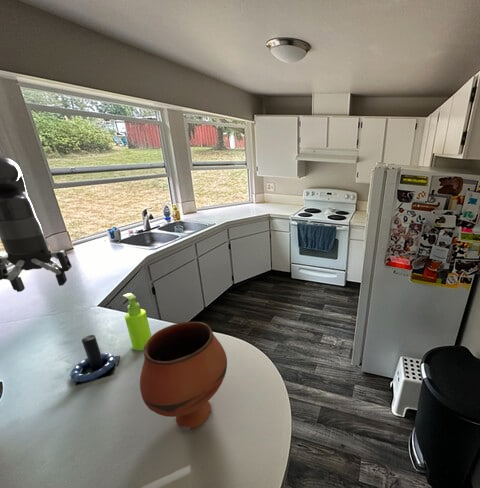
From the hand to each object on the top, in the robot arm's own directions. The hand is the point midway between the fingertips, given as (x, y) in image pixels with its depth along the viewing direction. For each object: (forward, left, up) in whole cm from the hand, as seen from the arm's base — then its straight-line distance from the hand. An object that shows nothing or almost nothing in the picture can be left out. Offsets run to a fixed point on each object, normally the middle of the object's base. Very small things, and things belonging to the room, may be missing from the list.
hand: (42, 287), depth 72 cm
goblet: (+35, -36, -28) cm, 58 cm away
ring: (+8, -7, -26) cm, 28 cm away
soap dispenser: (+19, +1, -28) cm, 34 cm away
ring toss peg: (+9, -8, -28) cm, 31 cm away
